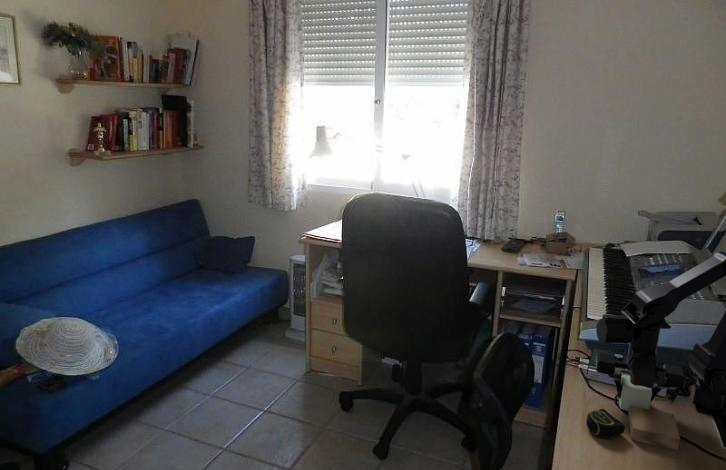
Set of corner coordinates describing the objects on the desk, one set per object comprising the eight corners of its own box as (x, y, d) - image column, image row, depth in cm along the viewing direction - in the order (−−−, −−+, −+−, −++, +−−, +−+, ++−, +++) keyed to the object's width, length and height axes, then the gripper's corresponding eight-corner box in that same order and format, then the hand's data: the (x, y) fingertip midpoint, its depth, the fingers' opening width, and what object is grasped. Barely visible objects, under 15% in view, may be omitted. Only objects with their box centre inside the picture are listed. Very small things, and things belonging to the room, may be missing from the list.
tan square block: (671, 425, 119) (673, 414, 119) (677, 450, 111) (680, 438, 111) (627, 416, 123) (629, 405, 122) (631, 439, 115) (633, 428, 114)
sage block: (645, 400, 129) (649, 379, 127) (648, 414, 123) (652, 392, 122) (618, 395, 131) (622, 374, 129) (620, 408, 125) (623, 387, 124)
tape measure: (625, 438, 115) (627, 423, 114) (600, 444, 113) (602, 429, 112) (603, 419, 122) (605, 405, 121) (578, 425, 120) (580, 411, 119)
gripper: (601, 351, 118) (592, 410, 123) (696, 367, 112) (683, 429, 116) (599, 330, 128) (591, 385, 133) (686, 344, 122) (675, 402, 126)
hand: (633, 400), depth 127 cm, fingers closed on sage block, 6 cm apart
